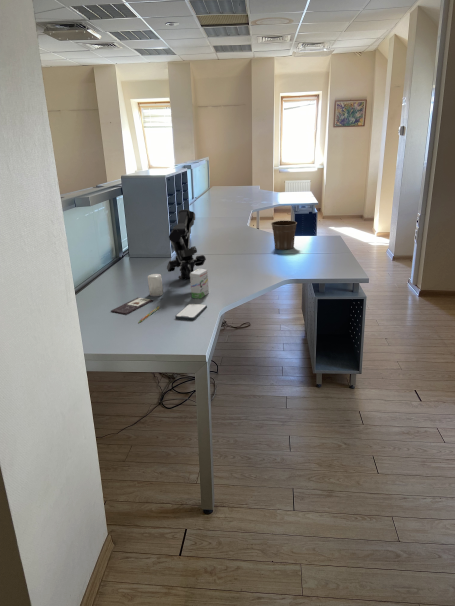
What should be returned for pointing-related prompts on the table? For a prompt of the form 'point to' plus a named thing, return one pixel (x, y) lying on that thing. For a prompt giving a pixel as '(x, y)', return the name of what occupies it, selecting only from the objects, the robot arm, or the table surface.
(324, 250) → the table surface
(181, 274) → the robot arm
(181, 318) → the smartphone
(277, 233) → the plant pot
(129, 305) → the chocolate bar
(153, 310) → the pencil
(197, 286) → the ink box
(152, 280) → the white rounded cylinder
